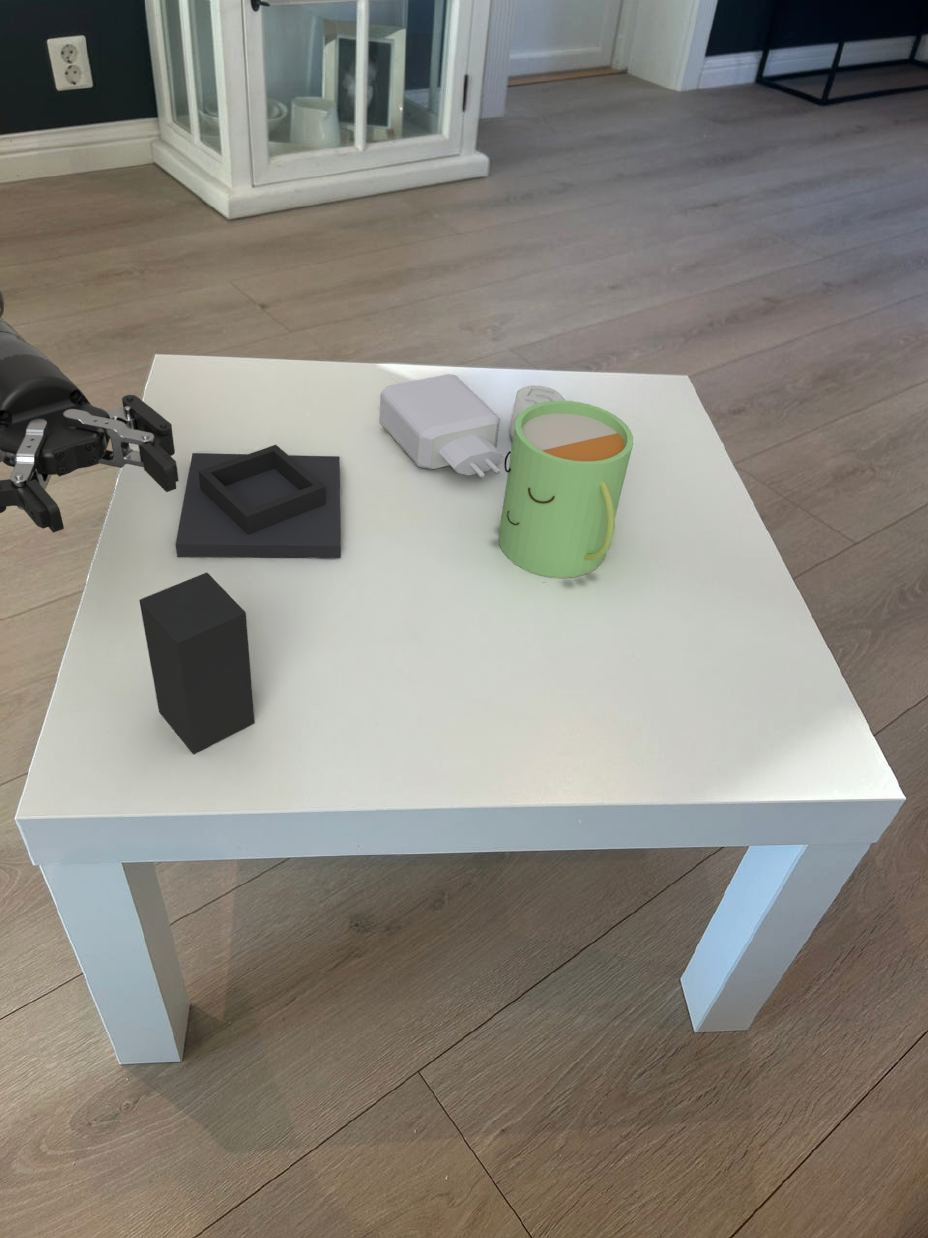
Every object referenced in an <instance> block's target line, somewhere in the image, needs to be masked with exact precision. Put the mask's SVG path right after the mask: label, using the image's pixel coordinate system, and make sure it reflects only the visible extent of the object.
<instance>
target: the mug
mask: <svg viewBox="0 0 928 1238" xmlns="http://www.w3.org/2000/svg"><path fill="white" fill-rule="evenodd" d="M511 441H512V440H511ZM633 447H634V435H633V432H632V430H631V429H630V427H629V426H628V425H627V423H625V421H623V420H622V419H621V418H620V417H618V416H617V415H616V414H614V413H612V412H610V411H608V410H606V409H604V408H602V407H600V406H596V405H593V404H589V403H585V402H581V401H573V400H565V401H548V402H542V403H538V404H535V405H532V406H530V407H528V408H526V409H525V410H523V411H522V412H521V413H520V414H519V416H518V417H517V419H516V422H515V428H514V435H513V441H512V443H511V449H510V450H508V452H507V453H506V455H505V456H504V463H503V466H504V467H503V468H504V471H505V472H506V474H507V475H506V483H505V489H504V496H503V502H502V508H501V509H502V510H501V516H500V524H499V529H498V530H499V531H498V545H499V548H500V549H501V551H502V552H503V554H504V555H505V556H506V557H507V559H508V560H510V562H512V563H513V564H514V565H515V566H518V567H519V568H521V569H523V570H525V571H527V572H530V573H531V574H534V575H538V576H541V577H547V578H554V579H572V578H577V577H581V576H584V575H588V574H590V573H592V572H593V571H595V570H596V569H598V568H599V567H600V566H601V565H602V563H603V562H604V561H605V558H606V555H607V552H608V551H609V549H610V547H611V544H612V542H613V538H614V535H615V534H614V533H615V524H616V523H615V521H616V520H615V519H616V515H617V511H618V507H619V503H620V499H621V494H622V490H623V487H624V483H625V478H626V475H627V470H628V466H629V462H630V458H631V454H632V450H633ZM508 458H509V463H508V467H507V462H508Z"/></svg>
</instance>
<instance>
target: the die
mask: <svg viewBox="0 0 928 1238" xmlns="http://www.w3.org/2000/svg"><path fill="white" fill-rule="evenodd" d="M548 401H566V399H565V398H564V396H563V395H562V394H561V392H559V391H557V390H556V389H554V388H551V387H548V386H545V385H528V386H525V387H522V388H521V389H519V390H517V392H516V394H515V398H514V402H513V407H512V413H511V418H510V424H509V432H508V436H509V438H510V440H511V441H513V435H514V428H515V422H516V419H517V417H518V416H519V414H520V413H521V412H522V411H523V410H525V409H526V408H528V407H530V406H532V405H535V404H538V403H542V402H548Z"/></svg>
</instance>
